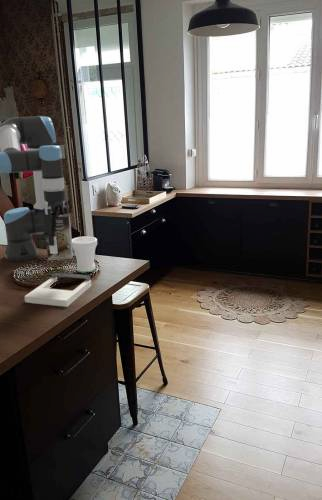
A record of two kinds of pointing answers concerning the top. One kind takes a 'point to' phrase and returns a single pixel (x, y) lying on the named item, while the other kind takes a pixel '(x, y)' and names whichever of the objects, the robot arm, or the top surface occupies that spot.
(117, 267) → the top surface
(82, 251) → the cup
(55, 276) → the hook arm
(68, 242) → the grey rectangular box
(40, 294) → the white rectangular frame
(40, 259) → the top surface
